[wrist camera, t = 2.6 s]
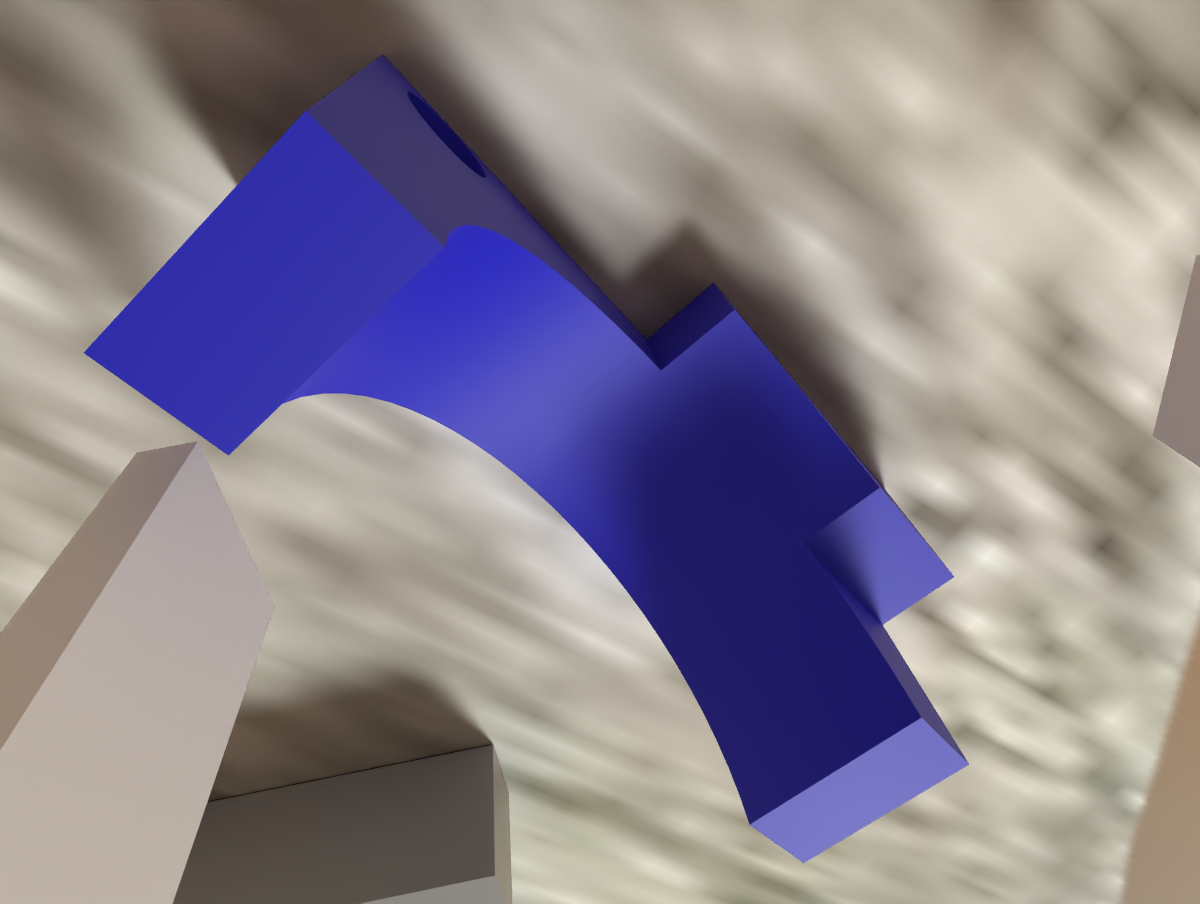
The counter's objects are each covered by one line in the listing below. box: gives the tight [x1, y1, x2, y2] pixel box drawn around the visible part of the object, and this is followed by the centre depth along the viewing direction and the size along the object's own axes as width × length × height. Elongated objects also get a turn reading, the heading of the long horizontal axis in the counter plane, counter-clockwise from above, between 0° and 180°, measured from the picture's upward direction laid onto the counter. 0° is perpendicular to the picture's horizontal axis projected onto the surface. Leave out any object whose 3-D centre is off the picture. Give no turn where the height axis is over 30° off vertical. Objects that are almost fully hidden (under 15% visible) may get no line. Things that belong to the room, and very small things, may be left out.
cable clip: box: [84, 55, 969, 863], centre depth 12 cm, size 12×4×6 cm, turn 41°
